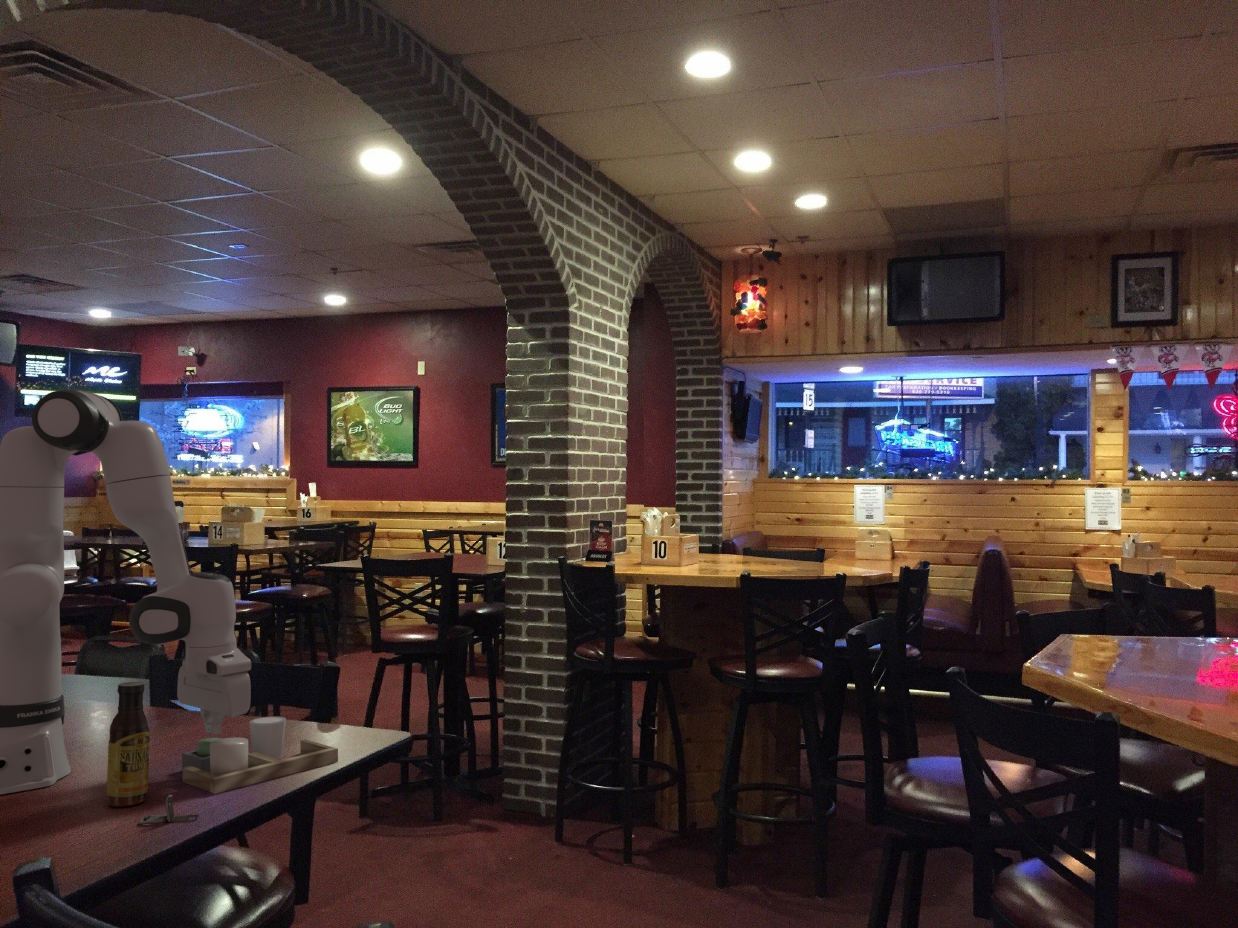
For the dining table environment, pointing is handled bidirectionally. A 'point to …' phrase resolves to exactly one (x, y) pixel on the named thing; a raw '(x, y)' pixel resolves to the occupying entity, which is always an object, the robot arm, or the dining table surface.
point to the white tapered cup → (268, 735)
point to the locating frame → (262, 768)
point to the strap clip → (170, 815)
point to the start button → (204, 746)
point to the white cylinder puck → (228, 755)
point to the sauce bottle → (128, 749)
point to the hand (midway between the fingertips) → (213, 732)
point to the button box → (195, 761)
